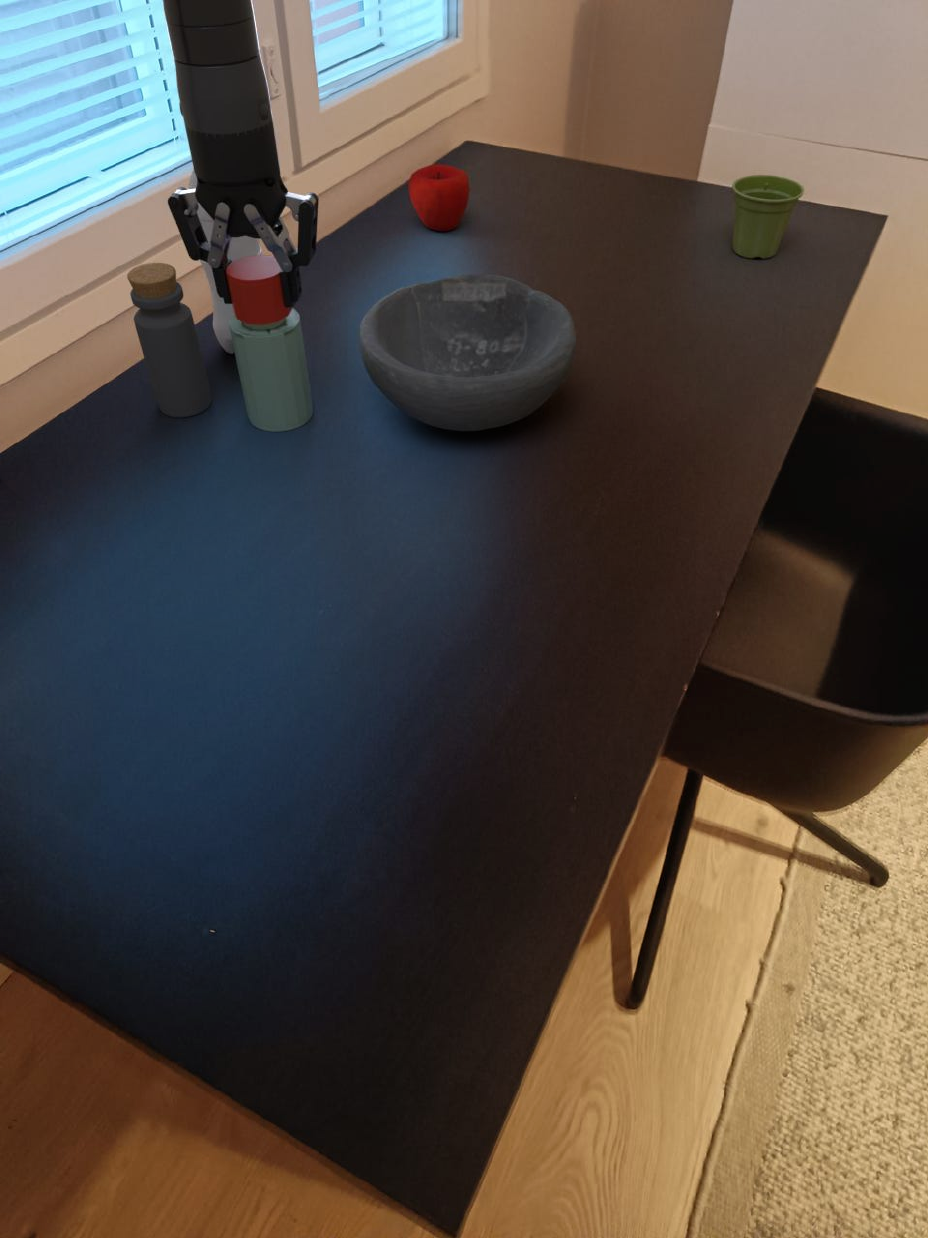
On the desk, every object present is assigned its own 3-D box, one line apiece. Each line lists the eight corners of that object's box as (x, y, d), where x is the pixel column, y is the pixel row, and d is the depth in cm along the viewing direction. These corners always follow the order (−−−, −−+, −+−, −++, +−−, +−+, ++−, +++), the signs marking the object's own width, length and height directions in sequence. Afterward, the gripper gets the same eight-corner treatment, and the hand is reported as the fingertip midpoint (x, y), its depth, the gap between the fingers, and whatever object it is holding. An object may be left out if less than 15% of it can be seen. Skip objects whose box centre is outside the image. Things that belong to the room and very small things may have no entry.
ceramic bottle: (235, 417, 98) (204, 274, 86) (281, 390, 102) (257, 249, 90) (280, 439, 95) (253, 294, 83) (326, 410, 99) (307, 268, 87)
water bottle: (207, 355, 107) (153, 127, 89) (236, 328, 112) (191, 106, 94) (261, 365, 105) (217, 134, 88) (288, 336, 110) (252, 112, 92)
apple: (406, 216, 136) (403, 161, 130) (463, 212, 137) (463, 157, 131) (415, 240, 130) (412, 184, 124) (474, 235, 131) (474, 179, 125)
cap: (223, 313, 89) (213, 269, 86) (264, 293, 92) (256, 249, 89) (261, 330, 87) (253, 285, 84) (302, 308, 90) (296, 264, 87)
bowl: (322, 403, 99) (310, 319, 92) (464, 332, 111) (464, 252, 103) (469, 492, 88) (469, 403, 81) (612, 403, 99) (623, 318, 92)
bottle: (186, 423, 97) (151, 290, 86) (147, 408, 99) (108, 276, 88) (223, 398, 100) (193, 267, 90) (185, 384, 103) (151, 254, 92)
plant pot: (706, 250, 127) (718, 186, 121) (745, 231, 131) (759, 168, 125) (762, 271, 122) (777, 205, 116) (801, 251, 126) (818, 187, 120)
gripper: (320, 104, 79) (340, 288, 91) (164, 98, 80) (204, 281, 92) (297, 132, 74) (322, 324, 86) (131, 126, 75) (178, 315, 87)
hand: (261, 301), depth 89 cm, fingers closed on cap, 5 cm apart
